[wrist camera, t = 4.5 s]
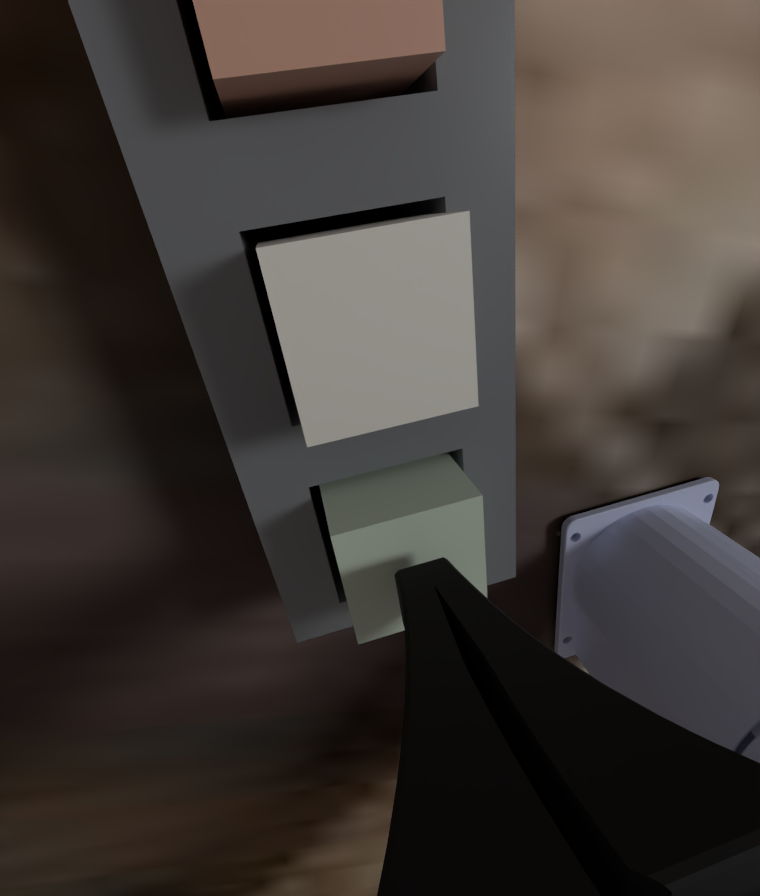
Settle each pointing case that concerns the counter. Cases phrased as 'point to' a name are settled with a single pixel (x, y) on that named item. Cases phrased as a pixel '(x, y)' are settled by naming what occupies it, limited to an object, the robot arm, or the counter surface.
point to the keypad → (310, 197)
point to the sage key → (401, 534)
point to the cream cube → (375, 322)
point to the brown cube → (316, 50)
